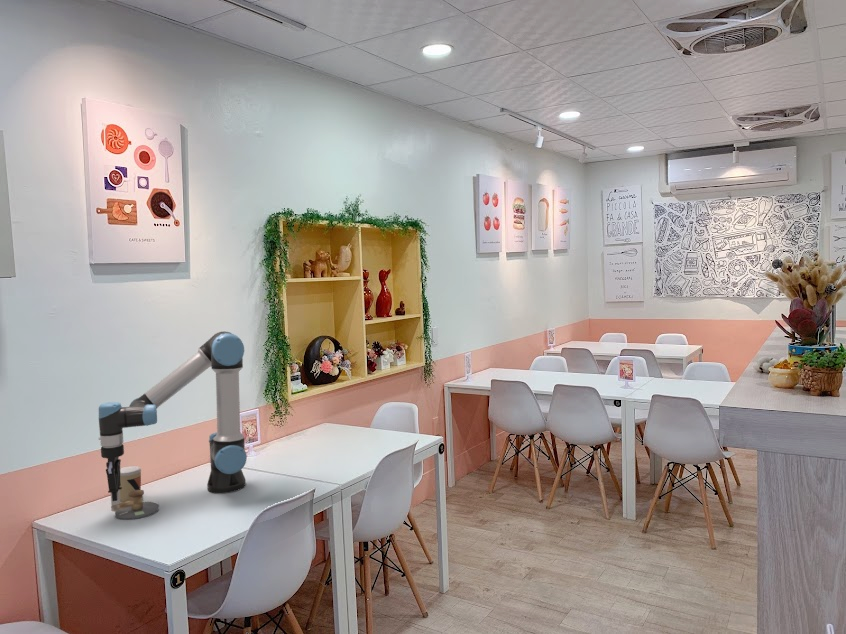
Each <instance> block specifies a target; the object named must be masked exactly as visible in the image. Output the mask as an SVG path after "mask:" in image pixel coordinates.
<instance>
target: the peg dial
mask: <svg viewBox="0 0 846 634" xmlns="http://www.w3.org/2000/svg"><path fill="white" fill-rule="evenodd" d="M144 495H145V491H144V490H143V489H141V490H134V491H131V492H129V497H131V500H129V501H126V502H120V504H116V505H113V506H112V505H111V507H110V508H111V511H112V512H114V513H115V511H118V510H121V509H124V508H127V507H130V506H131V510H140V509H142V508H143V502H144V500H143V496H144Z"/></svg>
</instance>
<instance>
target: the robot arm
mask: <svg viewBox="0 0 846 634" xmlns="http://www.w3.org/2000/svg"><path fill="white" fill-rule="evenodd" d="M197 350H198V351H197V352H196V353H195V354H194V355H192V356H191V357H190V358H188V359H187V360H186V361H184V362H182V364H180V365H179V366H178V367H177V368H175V369H173V370H172V371H171V372H169V374H168V375H166V376H165V377H164V378H163V379H161V380H159V382H157V383H156V384H155V385H154V386H152V387H151V388H149V389H148V390H147V391H146V392H144V393H143V394H142V395H140V397H137V398H135V399H133V400H132V401H131V402H130V404H129V406H124V407H123V405H122V404H121V402H119V401H112V402H111V401H110V402H104V403H102V404H100V405H99V406H98V427H99V429H98V430H99V437H98V440H99V441H100V446H101V447H100V456H101V458H102V459H107V462H106V464H105V465H106V466H105V467H106V469H105V473H106V477H107V478H106V479H107V485H108V491H107V492H108V493H110V501H111V502H110V503H111V504H110V505H111V506H113V505H116V504H120V503H121V502H120V490H119V489H122V487H120V486H121V484H120V468H121V461H122V459H120V458H119V457H122V456H123V455H124V454H125V450H124V449H125V446H124V433H123V432H124V430H123V429H125V428H126V429H127V428H136V427H144V426H146V427H147V426H151V425H155V424H157V422H158V410H157V409H158V408H160V407H161V406H162V405H163V404H164V403H165V402H167V401H168V400H170V398H172V397H173V396H175V395H176V394H177V393H178V392H180V391H181V390H182V389H183V388H185V387H186V386H187V385H189V384H190V383H191V382H193V381H194V380H195V379H196V378H197V377H199V376H200V375H201V374H203V373H204V372H205V371H207V370H208V369H209V368H211V370H212V371H213V372H214V373H215V389H216V390H215V397H216V430H217V431H216V432H213V433H211V434H210V435H209V439H208V443H209V454H210V455H209V457H210V458H209V459H210V473H209V477H208V479H207V485H206V487H207V491H208V492H210V493H212V494H213V493H214V494H226V493H234V492H236V491H240V490H242V489H244V488H245V487H246V485H247V483H246V481H247V480H246V478H245V475H244V472H243V468H244V467H245V466H246V463H247V461H248V460H247V457H248V454H247V452H246V449H245V435H244V434H243V433H241V415H240V412H241V409H240V408H241V407H240V406H241V405H240V371H241V370H242V369H243V368H244V367H243V366H244V365H243V361H244V359H243V357H244V355H245V345H244V343H243V340H241V338H240V337H239V336H238V335H236V334H234V333H232V332H229V331H219V332H216V333H214V335H212V336H211V337H210V338H209V339H207V341H206V342H205V343H203V344H202V345H201V346H200V347H198V349H197Z"/></svg>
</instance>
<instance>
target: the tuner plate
mask: <svg viewBox="0 0 846 634" xmlns="http://www.w3.org/2000/svg"><path fill="white" fill-rule="evenodd" d="M159 510H160V504H159V503H157V502H154V501H143V508H142V509H140V510H131V506H130V507H127V508H124V509H121V510H118V511H115V512H114V516H115V518H116V519H118V520H123V521H128V520H129V521H131V520H133V521H134V520H139V519H143V518H144V519H145V518H147V517H151V516H152V515H155V514H157V513H158V511H159Z"/></svg>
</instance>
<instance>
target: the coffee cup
mask: <svg viewBox="0 0 846 634" xmlns="http://www.w3.org/2000/svg"><path fill="white" fill-rule="evenodd" d="M141 472H142V469H141V467H140V466H137V465H136V466H135V465H132V466H131V465H130V466H124V467H120V484H121V486H120V487H122V489H119V490H120V503H123V502H126V501H129V500H131V497H129V492H131V491H134V490H142V488H141V487H142V486H141V485H142V478H141V477H142V473H141Z"/></svg>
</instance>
